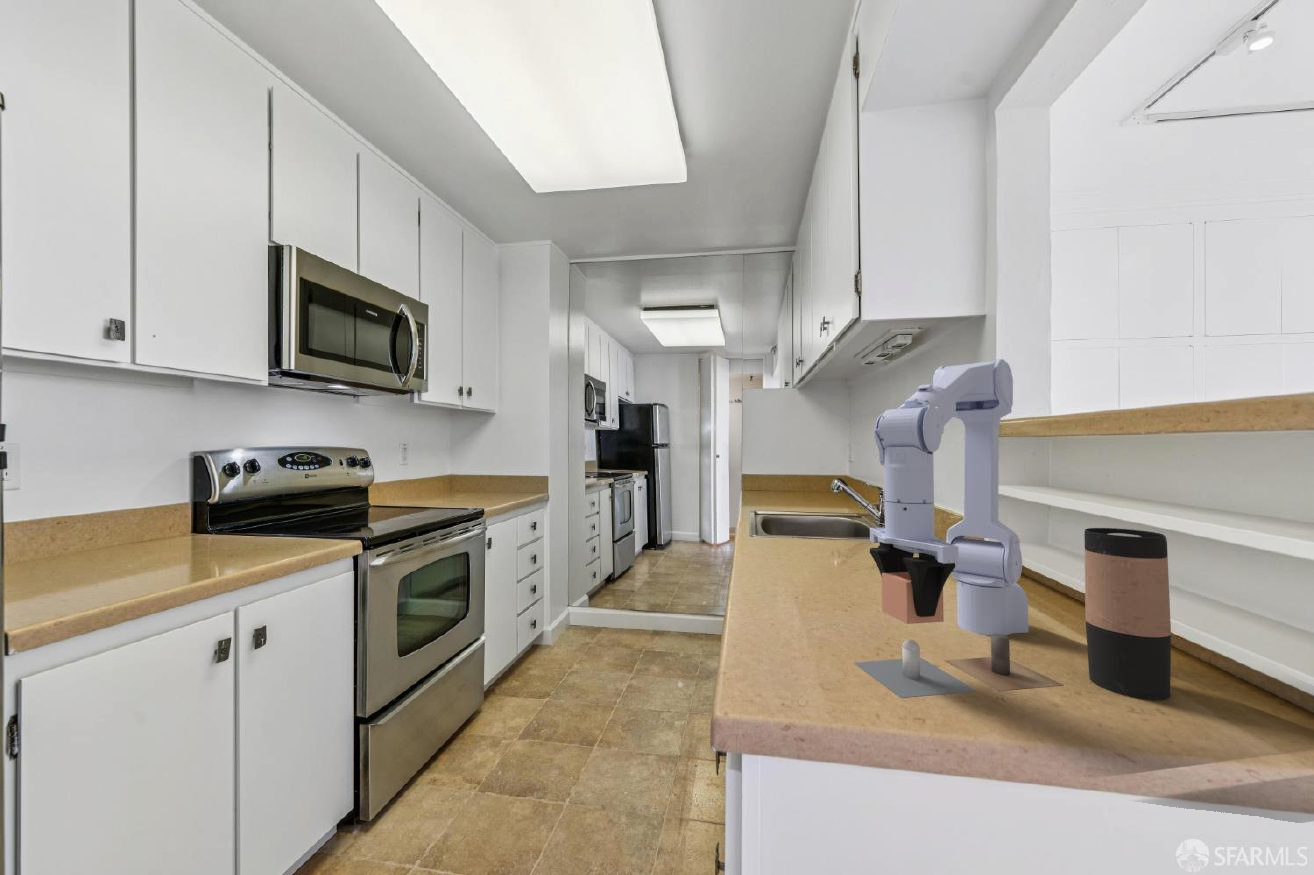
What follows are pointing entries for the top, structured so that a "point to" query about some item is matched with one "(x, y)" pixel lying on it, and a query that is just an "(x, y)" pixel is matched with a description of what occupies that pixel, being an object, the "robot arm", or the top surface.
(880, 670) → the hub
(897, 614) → the collar
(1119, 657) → the travel mug
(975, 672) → the stand
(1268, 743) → the top surface
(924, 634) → the top surface
